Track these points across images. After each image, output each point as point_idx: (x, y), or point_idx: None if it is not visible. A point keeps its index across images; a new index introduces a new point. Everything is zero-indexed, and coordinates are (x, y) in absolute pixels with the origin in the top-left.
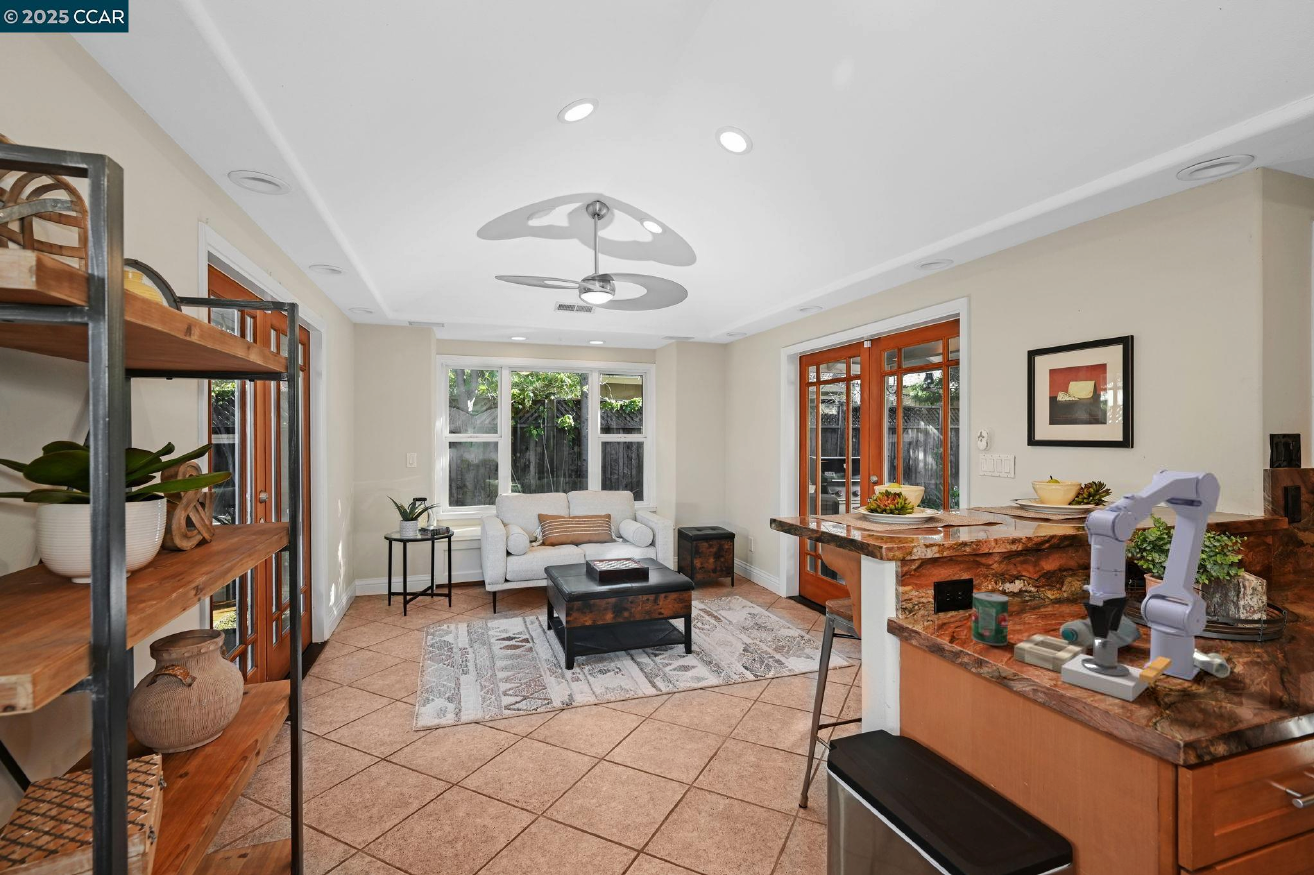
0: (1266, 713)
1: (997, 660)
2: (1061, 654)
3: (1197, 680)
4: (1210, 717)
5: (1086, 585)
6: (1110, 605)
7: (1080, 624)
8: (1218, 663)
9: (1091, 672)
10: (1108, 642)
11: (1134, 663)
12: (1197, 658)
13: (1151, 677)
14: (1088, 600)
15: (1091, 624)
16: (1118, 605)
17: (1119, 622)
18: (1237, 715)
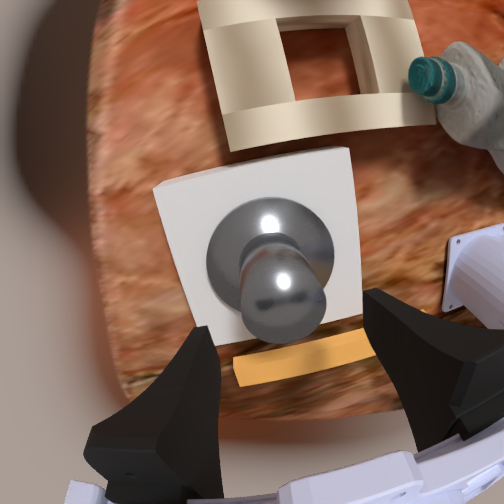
0: (370, 406)
1: (143, 11)
2: (276, 117)
3: (452, 310)
4: (273, 398)
5: (384, 498)
6: (423, 389)
7: (487, 102)
8: None
9: (197, 257)
10: (265, 327)
11: (468, 208)
12: None
13: (239, 384)
14: (147, 465)
15: (171, 360)
16: (418, 421)
17: (381, 363)
18: (324, 403)
